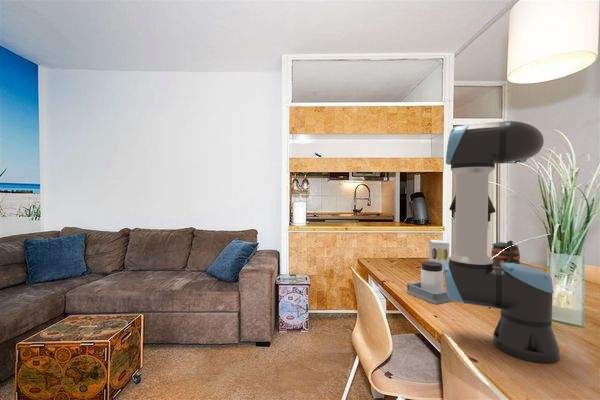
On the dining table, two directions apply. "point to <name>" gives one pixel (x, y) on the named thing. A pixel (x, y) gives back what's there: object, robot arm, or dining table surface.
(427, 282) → the jar
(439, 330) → the dining table surface
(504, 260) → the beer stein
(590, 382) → the dining table surface
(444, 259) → the supplement box
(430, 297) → the dock bay
